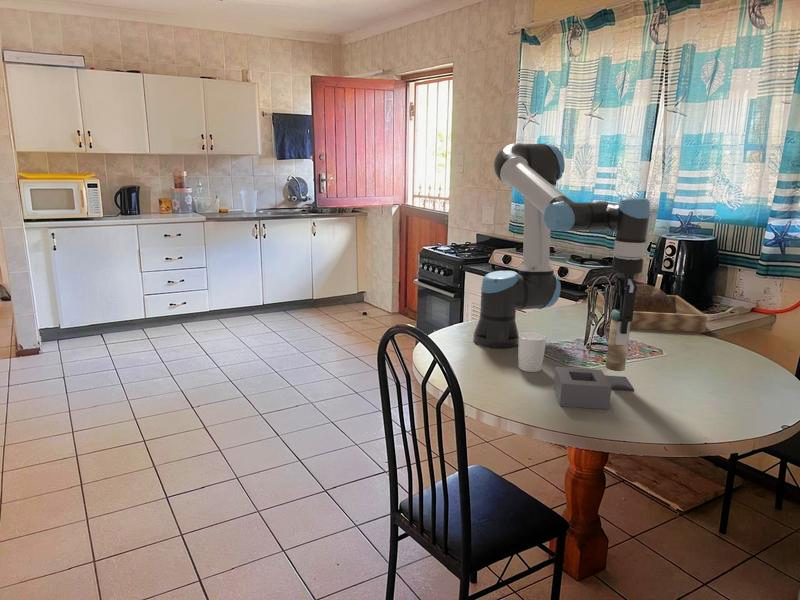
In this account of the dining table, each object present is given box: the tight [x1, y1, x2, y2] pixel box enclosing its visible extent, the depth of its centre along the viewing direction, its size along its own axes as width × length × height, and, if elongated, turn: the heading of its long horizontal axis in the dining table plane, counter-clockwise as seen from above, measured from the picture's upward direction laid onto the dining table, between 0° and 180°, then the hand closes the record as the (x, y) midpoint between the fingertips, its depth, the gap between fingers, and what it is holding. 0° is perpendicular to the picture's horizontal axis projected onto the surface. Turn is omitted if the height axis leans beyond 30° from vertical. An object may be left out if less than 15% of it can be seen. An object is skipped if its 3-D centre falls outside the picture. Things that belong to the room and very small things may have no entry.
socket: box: [553, 366, 612, 410], centre depth 153 cm, size 12×12×6 cm
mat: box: [604, 374, 635, 392], centre depth 164 cm, size 9×9×1 cm
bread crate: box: [595, 291, 708, 333], centre depth 231 cm, size 33×32×6 cm
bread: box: [634, 283, 677, 314], centre depth 232 cm, size 26×27×13 cm
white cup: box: [517, 331, 547, 373], centre depth 173 cm, size 8×8×10 cm
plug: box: [605, 309, 631, 372], centre depth 161 cm, size 5×5×16 cm
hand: (618, 341), depth 161 cm, fingers closed on plug, 5 cm apart
